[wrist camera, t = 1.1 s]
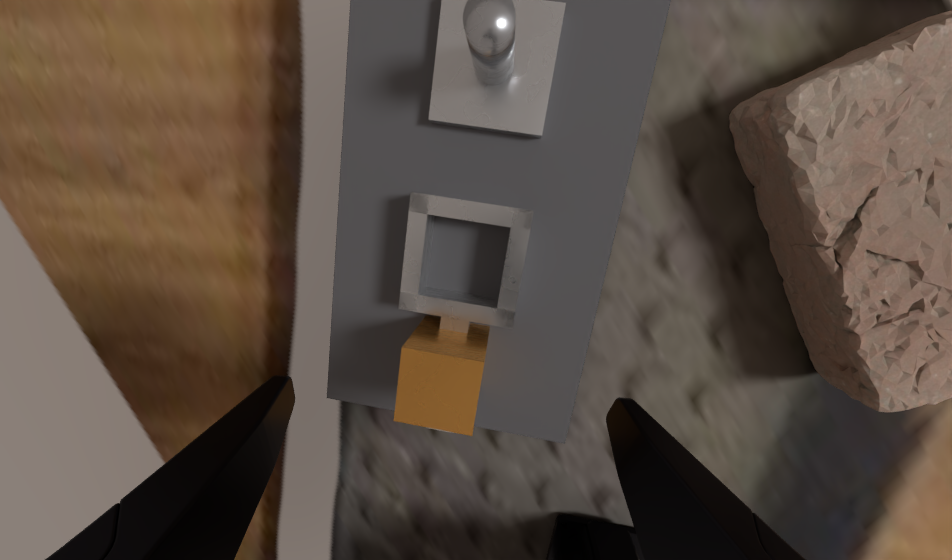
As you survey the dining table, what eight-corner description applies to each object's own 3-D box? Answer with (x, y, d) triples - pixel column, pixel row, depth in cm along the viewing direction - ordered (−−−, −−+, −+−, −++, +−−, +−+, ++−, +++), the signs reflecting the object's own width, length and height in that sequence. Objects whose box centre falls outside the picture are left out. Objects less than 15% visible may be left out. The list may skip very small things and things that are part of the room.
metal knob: (540, 138, 19) (552, 113, 14) (431, 123, 19) (403, 92, 14) (563, 11, 17) (586, -69, 12) (445, -3, 18) (420, -86, 13)
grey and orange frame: (492, 424, 22) (487, 484, 18) (396, 405, 23) (366, 460, 18) (531, 210, 19) (538, 211, 15) (420, 193, 20) (391, 189, 15)
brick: (714, 115, 18) (782, 86, 14) (888, 31, 17) (1029, -32, 12) (803, 377, 21) (886, 425, 16) (961, 323, 20) (1099, 360, 15)
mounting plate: (563, 437, 23) (564, 443, 22) (331, 393, 24) (326, 397, 23) (670, -15, 17) (676, -23, 17) (359, -51, 18) (353, -60, 17)
